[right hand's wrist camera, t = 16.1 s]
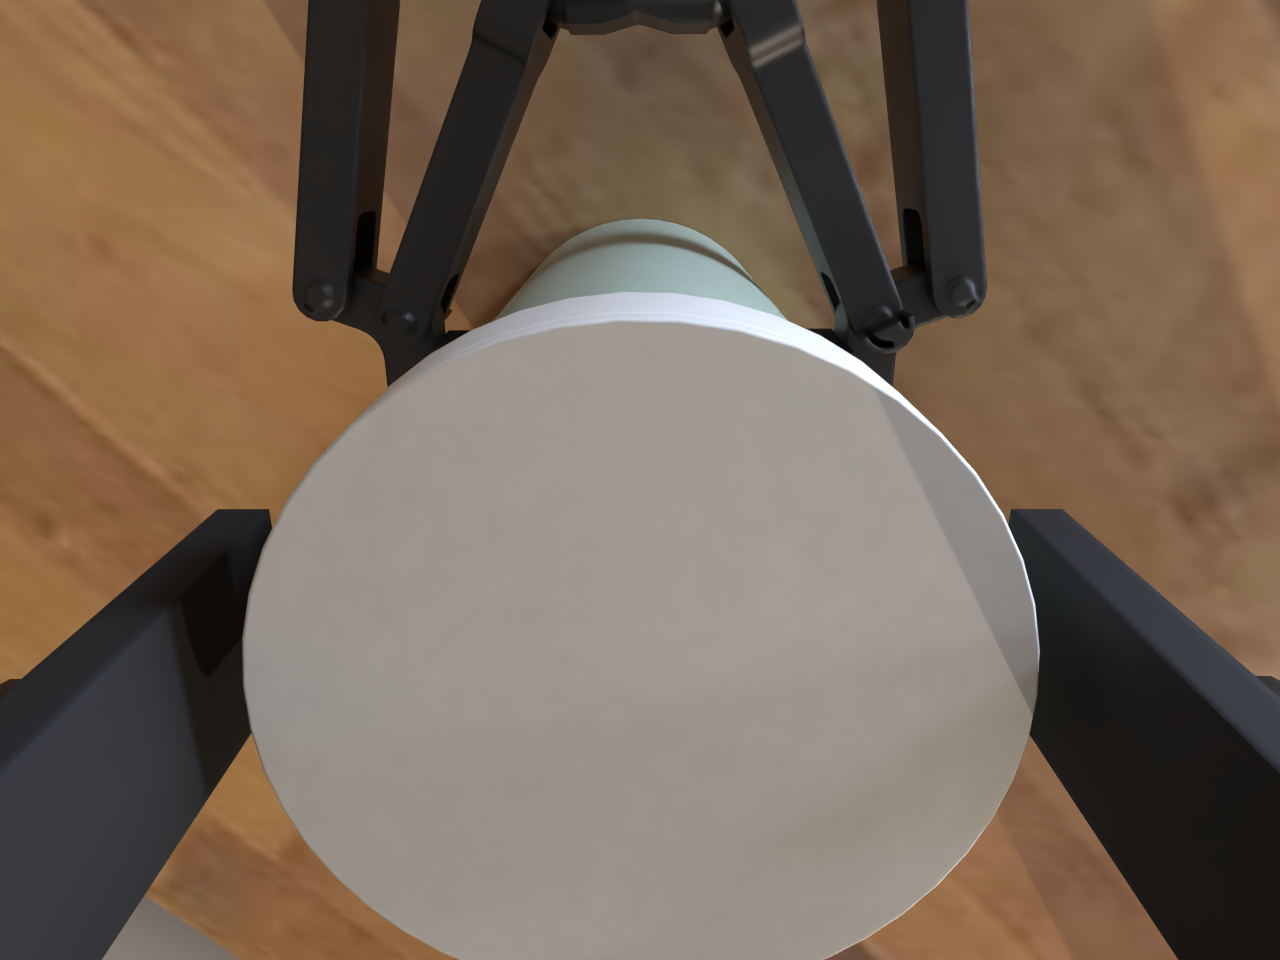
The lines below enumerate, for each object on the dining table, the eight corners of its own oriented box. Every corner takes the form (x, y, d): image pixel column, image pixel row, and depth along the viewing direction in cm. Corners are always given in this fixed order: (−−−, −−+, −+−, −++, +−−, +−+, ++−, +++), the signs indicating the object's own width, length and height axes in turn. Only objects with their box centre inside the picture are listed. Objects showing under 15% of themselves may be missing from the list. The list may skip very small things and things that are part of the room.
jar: (554, 504, 30) (441, 976, 13) (472, 261, 27) (190, 458, 10) (796, 442, 29) (1013, 858, 12) (738, 184, 26) (919, 259, 9)
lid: (1068, 769, 13) (1129, 860, 11) (503, 970, 14) (485, 1077, 13) (841, 149, 10) (880, 151, 8) (152, 484, 11) (70, 542, 10)
